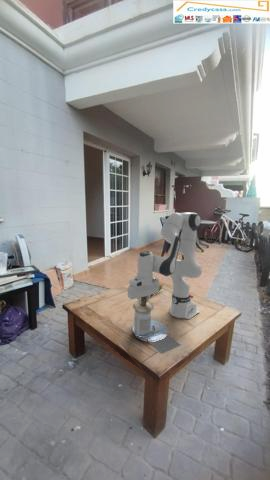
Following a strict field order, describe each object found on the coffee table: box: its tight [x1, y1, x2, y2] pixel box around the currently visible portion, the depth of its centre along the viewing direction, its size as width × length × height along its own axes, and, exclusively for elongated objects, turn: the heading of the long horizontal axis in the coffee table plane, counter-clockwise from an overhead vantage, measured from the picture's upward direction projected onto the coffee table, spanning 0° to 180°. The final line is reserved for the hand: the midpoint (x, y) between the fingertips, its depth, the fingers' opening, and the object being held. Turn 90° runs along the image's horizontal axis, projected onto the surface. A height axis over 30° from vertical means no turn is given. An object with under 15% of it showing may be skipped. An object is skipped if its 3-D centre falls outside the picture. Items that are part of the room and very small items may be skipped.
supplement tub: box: [133, 309, 152, 338], centre depth 128 cm, size 10×10×15 cm
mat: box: [147, 334, 181, 354], centre depth 121 cm, size 14×14×1 cm
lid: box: [132, 296, 155, 312], centre depth 126 cm, size 12×12×6 cm
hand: (143, 302), depth 126 cm, fingers closed on lid, 3 cm apart
